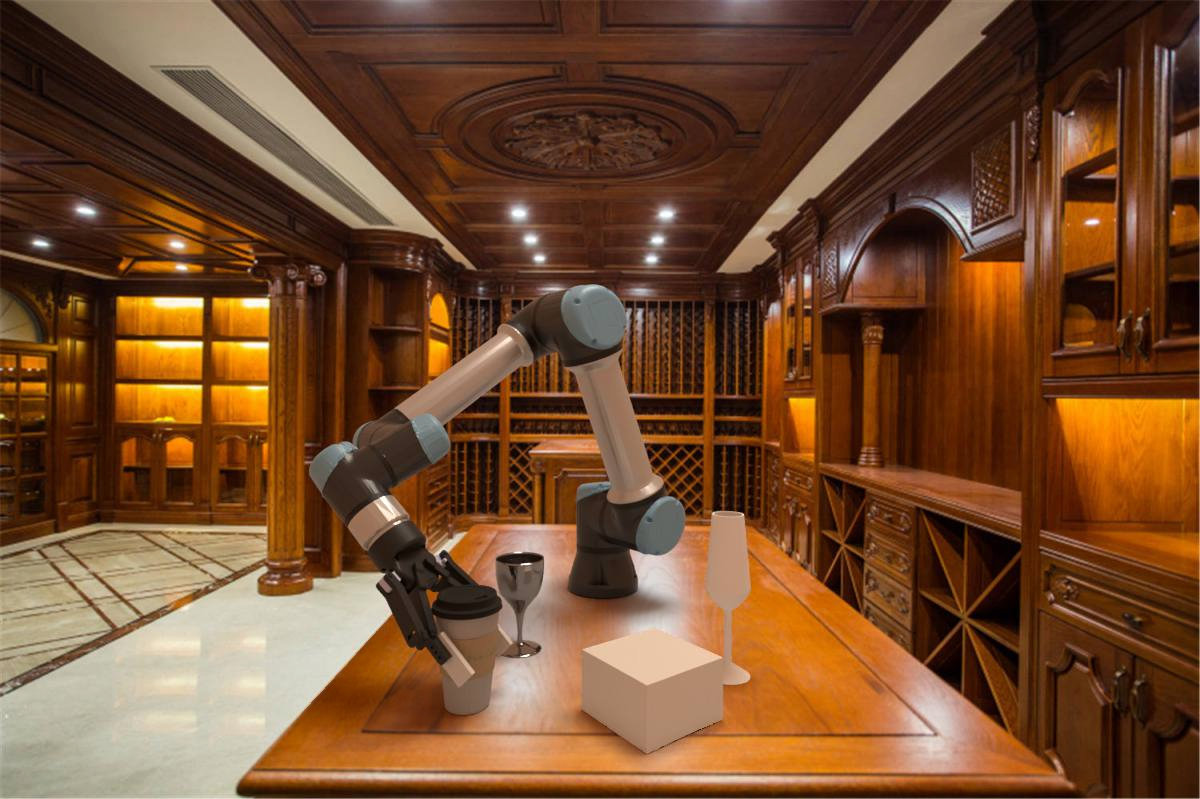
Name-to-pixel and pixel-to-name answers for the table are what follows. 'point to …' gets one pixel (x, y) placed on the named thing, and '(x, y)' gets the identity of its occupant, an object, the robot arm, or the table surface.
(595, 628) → the table surface
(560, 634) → the table surface
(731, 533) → the champagne flute
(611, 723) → the riser
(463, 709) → the coffee cup
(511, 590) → the wine glass
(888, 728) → the table surface
